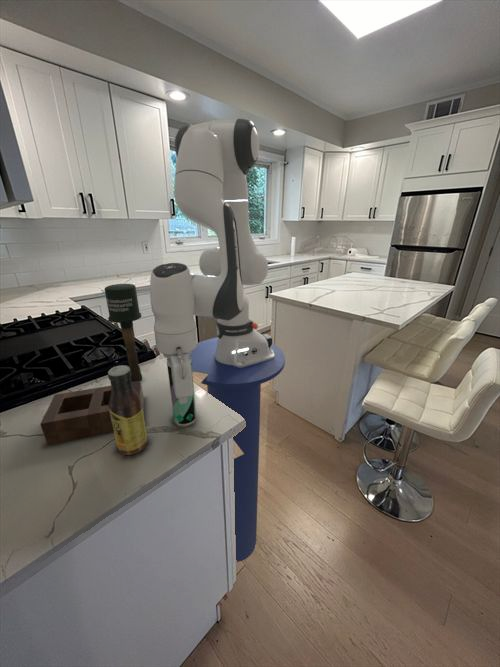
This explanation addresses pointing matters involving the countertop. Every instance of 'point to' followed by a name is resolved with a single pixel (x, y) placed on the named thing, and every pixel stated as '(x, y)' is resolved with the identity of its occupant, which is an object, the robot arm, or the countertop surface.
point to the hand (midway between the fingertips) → (181, 392)
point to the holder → (80, 414)
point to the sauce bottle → (126, 412)
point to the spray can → (182, 412)
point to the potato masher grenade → (125, 320)
